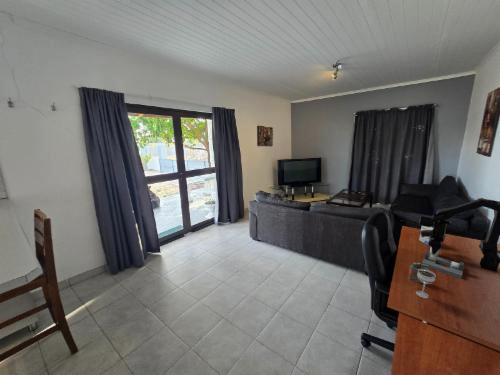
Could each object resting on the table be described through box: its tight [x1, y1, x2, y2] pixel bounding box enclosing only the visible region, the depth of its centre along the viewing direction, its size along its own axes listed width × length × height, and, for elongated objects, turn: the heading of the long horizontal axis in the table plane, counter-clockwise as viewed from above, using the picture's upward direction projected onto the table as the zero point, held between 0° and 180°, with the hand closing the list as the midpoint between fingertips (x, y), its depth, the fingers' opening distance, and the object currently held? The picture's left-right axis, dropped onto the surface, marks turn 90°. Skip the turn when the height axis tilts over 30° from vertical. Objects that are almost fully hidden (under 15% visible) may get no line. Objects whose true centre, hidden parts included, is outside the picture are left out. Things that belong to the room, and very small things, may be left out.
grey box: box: [407, 262, 430, 284], centre depth 113 cm, size 8×3×10 cm, turn 62°
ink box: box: [418, 226, 434, 247], centre depth 151 cm, size 9×5×12 cm, turn 179°
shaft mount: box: [421, 251, 465, 280], centre depth 125 cm, size 17×14×6 cm
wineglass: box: [415, 269, 437, 299], centre depth 103 cm, size 7×7×12 cm
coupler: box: [429, 247, 441, 257], centre depth 137 cm, size 5×5×7 cm
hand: (434, 251), depth 137 cm, fingers open, 9 cm apart
